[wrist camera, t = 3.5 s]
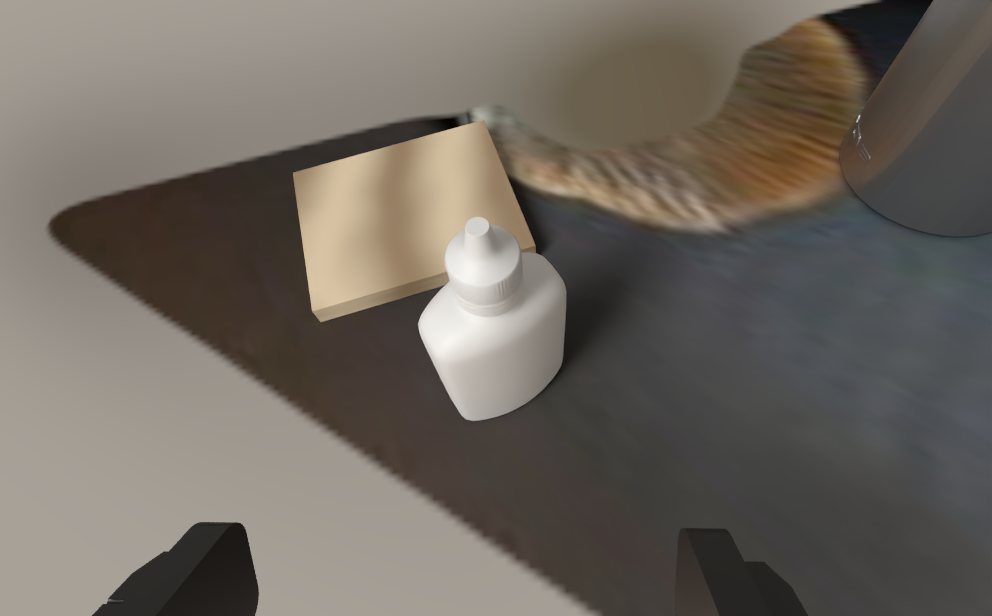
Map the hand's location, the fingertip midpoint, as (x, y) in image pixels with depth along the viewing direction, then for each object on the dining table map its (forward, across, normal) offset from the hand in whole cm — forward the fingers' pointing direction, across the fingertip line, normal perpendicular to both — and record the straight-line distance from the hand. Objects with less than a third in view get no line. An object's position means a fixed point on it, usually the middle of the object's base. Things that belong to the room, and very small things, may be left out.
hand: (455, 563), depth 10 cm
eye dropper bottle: (+16, 0, +4) cm, 16 cm away
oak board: (+23, +6, -4) cm, 24 cm away
